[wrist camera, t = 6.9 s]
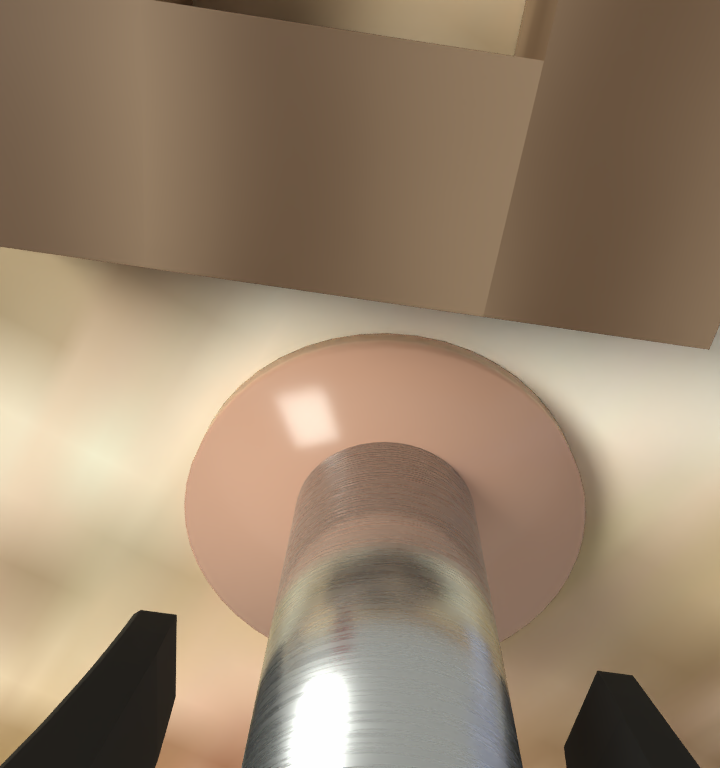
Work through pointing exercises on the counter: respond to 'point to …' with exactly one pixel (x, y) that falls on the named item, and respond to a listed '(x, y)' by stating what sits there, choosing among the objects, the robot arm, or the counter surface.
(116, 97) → the pocket block
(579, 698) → the counter surface
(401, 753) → the round metal peg
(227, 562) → the coaster
